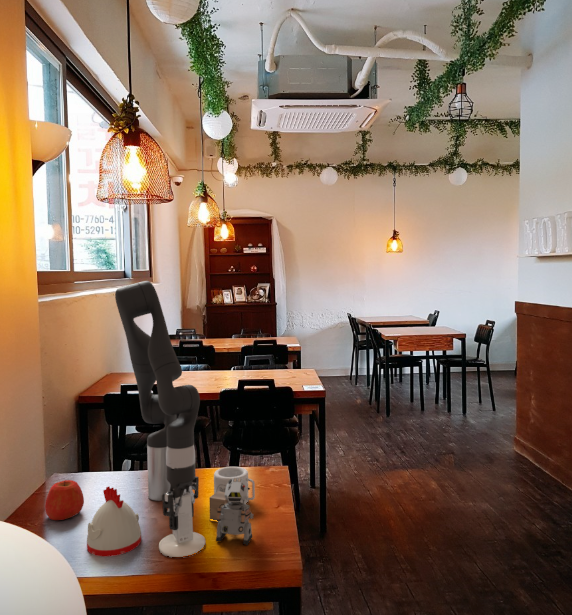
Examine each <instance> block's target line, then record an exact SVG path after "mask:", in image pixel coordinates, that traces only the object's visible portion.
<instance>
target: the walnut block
mask: <svg viewBox="0 0 572 615" xmlns="http://www.w3.org/2000/svg"><path fill="white" fill-rule="evenodd" d="M224 494H225V492H220V491H217V492H216V493H215V494H214V493H213V494H212V495H211V496H209V520H210V519H213V520H217V510H218V508H219V506H220V505H221V504H227V503H228V500H226V498H225V495H224ZM221 506H223V505H221ZM221 506H220V508H221Z"/></svg>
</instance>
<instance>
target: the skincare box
mask: <svg viewBox="0 0 572 615" xmlns="http://www.w3.org/2000/svg"><path fill="white" fill-rule="evenodd" d="M179 499H180V497H178V498H175V501H174V500H173V503H178V502H179ZM174 511H175V506H174ZM193 524H194V523H193V517H192V501H191V494H190V493H189V492H186V494H185V496H183V497H182V506H181V507H180V508H179V511H178V529H177V530H172V534H173V535H174V537H175V538H176V540H177V542H178V543H183V542H187V541H191V540H193V532H194V526H193Z"/></svg>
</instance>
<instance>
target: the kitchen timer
mask: <svg viewBox="0 0 572 615" xmlns="http://www.w3.org/2000/svg"><path fill="white" fill-rule="evenodd" d="M102 492H103V496H104V499H105V500H104V501H105V502H104V503H103V504H102V505H100V507H99V508H98V509H97V510H96V511H95V514H94V515H93V518H92V520H91V522H90V523H88V524H87V537H86V549H87V552H89V554H91V555H93V556H97V557H113V556H114V557H115V556H120V555H123V554H127V553H129V552H131V551H133V550H135V549H136V548H137V547H139V545H141V542H142V530H141V526H140V522H139V521H140V517H139V516H140V515H139V514H138V512H137V513H135V511H134V509H132V507H131V506H130V505H129V504H128V503H127V502H125V501H124V499H121V494H120V493H119V494H118V489H117V488H114V487H110V486H106V487H105V489H103V491H102ZM126 552H127V553H126Z"/></svg>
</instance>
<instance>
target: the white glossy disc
mask: <svg viewBox="0 0 572 615" xmlns="http://www.w3.org/2000/svg"><path fill="white" fill-rule="evenodd" d="M204 545H205V546H206V538H205V536H203V535H202V534H200V533H198V532H195V531H193V540H191V541H187V542H183V543H178V542H177V540H176V538H175V537H174V535H173V533H170V534H168V535H166V536H164V537H163V538H162V539H161V540H160V541H159V544H158V551H159V554H161V553H162V555H163V556H165V557H167V556H169V557H168V558H172V557H183V556H188V555H192V554H194V553H197V552H198V551H200V550H201V549H202V548H203V547H204ZM204 548H205V547H204ZM204 548H203V549H204ZM200 552H201V551H200ZM197 554H198V553H197ZM192 556H193V555H192ZM183 558H184V557H183Z"/></svg>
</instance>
